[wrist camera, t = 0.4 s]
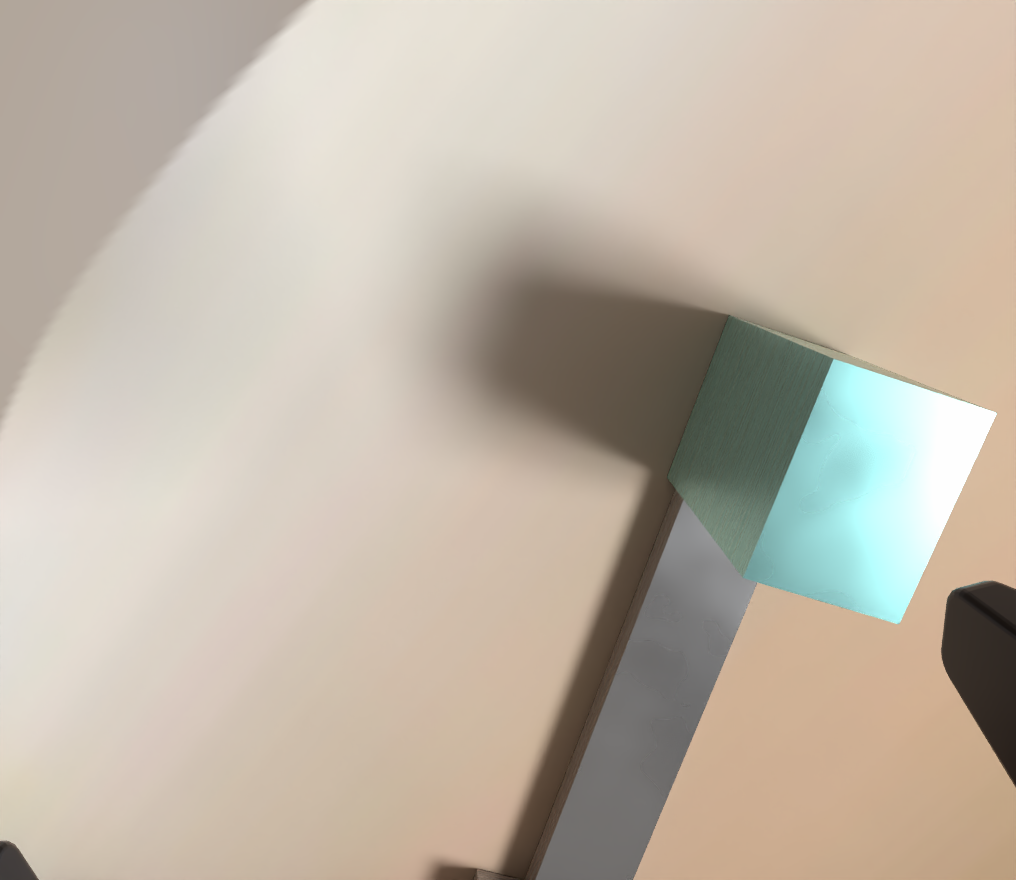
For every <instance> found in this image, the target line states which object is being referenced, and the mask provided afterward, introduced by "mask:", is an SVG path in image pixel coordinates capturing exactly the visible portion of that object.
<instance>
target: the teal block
mask: <svg viewBox="0 0 1016 880" xmlns="http://www.w3.org/2000/svg"><path fill="white" fill-rule="evenodd" d="M995 416H996V413H995V412H993V411H990V410H988V409H985V408H982V407H980V406H977V405H975V404H972V403H970V402H967V401H965V400H962V399H959V398H957V397H954V396H952V395H949V394H947V393H944V392H942V391H939V390H936V389H934V388H931V387H929V386H926V385H924V384H921V383H919V382H916V381H913V380H911V379H908V378H906V377H903V376H901V375H898V374H896V373H893V372H891V371H888V370H885V369H883V368H880V367H878V366H875V365H873V364H870V363H868V362H865V361H862V360H860V359H857V358H855V357H852V356H850V355H847V354H844V353H841V352H838V351H835V350H832V349H829V348H826V347H823V346H820V345H817V344H814V343H811V342H808V341H805V340H802V339H799V338H796V337H793V336H790V335H787V334H784V333H781V332H778V331H775V330H772V329H769V328H766V327H763V326H760V325H757V324H754V323H751V322H748V321H745V320H742V319H739V318H736V317H733V316H730V315H729V317H728V319H727V322H726V324H725V327H724V330H723V332H722V335H721V338H720V340H719V343H718V345H717V348H716V351H715V353H714V356H713V358H712V361H711V364H710V366H709V369H708V371H707V374H706V377H705V379H704V382H703V385H702V387H701V390H700V392H699V395H698V398H697V400H696V403H695V405H694V408H693V411H692V413H691V416H690V418H689V421H688V424H687V426H686V429H685V432H684V434H683V437H682V439H681V442H680V445H679V447H678V450H677V452H676V455H675V458H674V460H673V463H672V465H671V468H670V471H669V473H668V476H667V478H668V479H669V481H670V482H671V483H672V485H673V486H674V487H675V492H674V495H673V497H672V500H671V502H670V505H669V507H668V510H667V513H666V515H665V518H664V520H663V523H662V526H661V528H660V531H659V533H658V536H657V539H656V541H655V544H654V546H653V549H652V551H651V554H650V557H649V559H648V562H647V564H646V567H645V570H644V572H643V575H642V577H641V580H640V582H639V585H638V588H637V590H636V593H635V595H634V598H633V601H632V603H631V606H630V608H629V611H628V614H627V616H626V619H625V621H624V624H623V626H622V629H621V632H620V634H619V637H618V639H617V642H616V645H615V647H614V650H613V652H612V655H611V657H610V660H609V663H608V665H607V668H606V670H605V673H604V676H603V678H602V681H601V683H600V686H599V689H598V691H597V694H596V696H595V699H594V701H593V704H592V707H591V709H590V712H589V714H588V717H587V720H586V722H585V725H584V727H583V730H582V732H581V735H580V738H579V740H578V743H577V745H576V748H575V751H574V753H573V756H572V758H571V761H570V764H569V766H568V769H567V771H566V774H565V776H564V779H563V782H562V784H561V787H560V789H559V792H558V795H557V797H556V800H555V802H554V805H553V808H552V810H551V813H550V815H549V818H548V820H547V823H546V826H545V828H544V831H543V833H542V836H541V839H540V841H539V844H538V846H537V849H536V851H535V854H534V857H533V859H532V862H531V864H530V867H529V870H528V872H527V875H526V877H525V880H633V878H634V876H635V874H636V871H637V869H638V866H639V864H640V862H641V859H642V857H643V855H644V852H645V850H646V847H647V845H648V843H649V840H650V838H651V835H652V833H653V831H654V828H655V826H656V823H657V821H658V819H659V816H660V814H661V812H662V809H663V807H664V804H665V802H666V800H667V797H668V795H669V792H670V790H671V788H672V785H673V783H674V780H675V778H676V776H677V773H678V771H679V769H680V766H681V764H682V761H683V759H684V757H685V754H686V752H687V749H688V747H689V745H690V742H691V740H692V737H693V735H694V733H695V730H696V728H697V726H698V723H699V721H700V718H701V716H702V714H703V711H704V709H705V706H706V704H707V702H708V699H709V697H710V694H711V692H712V690H713V687H714V685H715V683H716V680H717V678H718V675H719V673H720V671H721V668H722V666H723V663H724V661H725V659H726V656H727V654H728V651H729V649H730V647H731V644H732V642H733V639H734V637H735V635H736V632H737V630H738V628H739V625H740V623H741V620H742V618H743V616H744V613H745V611H746V608H747V606H748V604H749V601H750V599H751V596H752V594H753V592H754V589H755V587H756V585H757V582H758V583H761V584H765V585H768V586H771V587H775V588H778V589H782V590H785V591H788V592H792V593H795V594H798V595H802V596H805V597H809V598H812V599H815V600H819V601H822V602H825V603H829V604H832V605H836V606H839V607H842V608H846V609H849V610H852V611H856V612H859V613H862V614H866V615H869V616H873V617H876V618H879V619H883V620H886V621H889V622H893V623H896V624H899V623H900V621H901V619H902V617H903V615H904V612H905V610H906V608H907V606H908V604H909V602H910V599H911V597H912V595H913V593H914V591H915V589H916V587H917V584H918V582H919V580H920V578H921V576H922V574H923V571H924V569H925V567H926V565H927V563H928V561H929V558H930V556H931V554H932V552H933V550H934V548H935V545H936V543H937V541H938V539H939V537H940V535H941V532H942V530H943V528H944V526H945V524H946V522H947V519H948V517H949V515H950V513H951V511H952V509H953V506H954V504H955V502H956V500H957V498H958V496H959V493H960V491H961V489H962V487H963V485H964V483H965V480H966V478H967V476H968V474H969V472H970V470H971V467H972V465H973V463H974V461H975V459H976V457H977V455H978V452H979V450H980V448H981V446H982V444H983V442H984V439H985V437H986V435H987V433H988V431H989V429H990V426H991V424H992V422H993V420H994V418H995ZM473 880H521V879H517V878H513V877H509V876H505V875H500V874H496V873H492V872H488V871H484V870H480V869H477V871H476V874H475V876H474V879H473Z"/></svg>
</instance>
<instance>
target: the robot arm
mask: <svg viewBox="0 0 1016 880" xmlns="http://www.w3.org/2000/svg"><path fill="white" fill-rule="evenodd" d="M941 654H942V660H943V664H944V667H945V670H946V672H947V674H948V676H949V678H950V679H951V681H952V683H953V684H954V686H955V688H956V689H957V691H958V693H959V694H960V696H961V698H962V699H963V701H964V703H965V704H966V706H967V708H968V709H969V711H970V713H971V714H972V716H973V718H974V719H975V721H976V723H977V724H978V726H979V727H980V729H981V731H982V732H983V734H984V736H985V737H986V739H987V741H988V742H989V744H990V746H991V747H992V749H993V751H994V752H995V754H996V756H997V757H998V759H999V761H1000V762H1001V764H1002V766H1003V767H1004V769H1005V771H1006V772H1007V774H1008V775H1009V777H1010V779H1011V780H1012V782H1013V784H1014V785H1015V787H1016V589H1014V588H1012V587H1009V586H1007V585H1004V584H1002V583H999V582H995V581H983V582H979V583H976V584H972V585H968V586H964V587H960V588H957V589H955V590H953V591H952V592H951V593H950V595H949V596H948V599H947V604H946V613H945V621H944V630H943V639H942V647H941ZM0 880H39V879H38V878H37V876H36V875H35V873H34V872H33V870H32V869H31V867H30V866H29V864H28V863H27V861H26V860H25V858H24V857H23V855H22V854H21V852H20V851H19V849H18V848H17V847H16V846H15V844H13V843H11V842H9V841H0Z"/></svg>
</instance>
